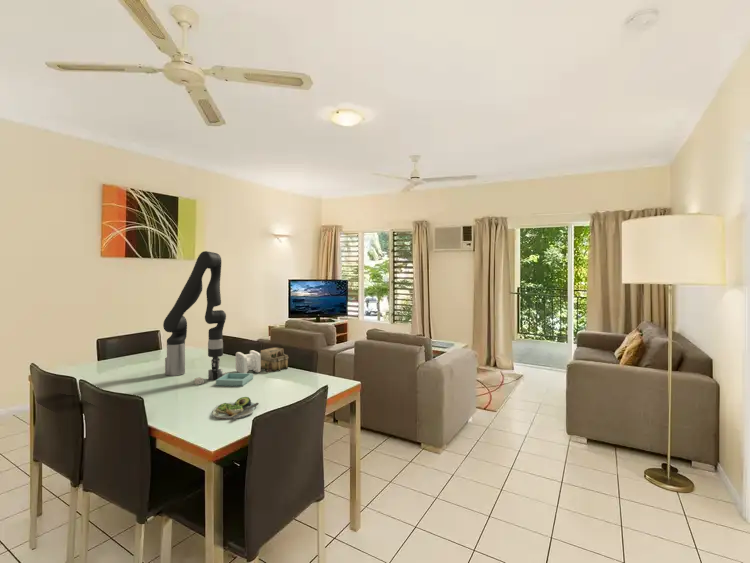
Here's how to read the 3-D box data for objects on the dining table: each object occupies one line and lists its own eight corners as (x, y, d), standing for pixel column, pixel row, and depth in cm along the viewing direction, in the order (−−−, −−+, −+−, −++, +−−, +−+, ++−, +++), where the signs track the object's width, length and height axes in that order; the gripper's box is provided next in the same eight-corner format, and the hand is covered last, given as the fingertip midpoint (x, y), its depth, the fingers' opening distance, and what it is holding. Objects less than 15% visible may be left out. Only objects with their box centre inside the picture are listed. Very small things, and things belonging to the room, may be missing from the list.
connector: (208, 380, 209) (208, 370, 209) (208, 378, 212) (208, 369, 212) (225, 379, 211) (225, 369, 211) (225, 377, 214) (225, 368, 214)
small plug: (194, 383, 203) (194, 378, 203) (199, 382, 205) (199, 377, 205) (199, 385, 200) (199, 380, 200) (204, 384, 202) (204, 379, 202)
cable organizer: (261, 374, 223) (261, 353, 222) (243, 376, 216) (243, 356, 216) (252, 368, 235) (252, 349, 234) (234, 371, 228) (234, 351, 228)
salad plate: (255, 421, 154) (255, 409, 153) (206, 424, 150) (206, 412, 150) (259, 404, 173) (259, 394, 172) (217, 407, 169) (217, 396, 169)
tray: (215, 385, 199) (215, 379, 199) (227, 378, 213) (227, 372, 213) (242, 386, 198) (242, 380, 198) (252, 378, 212) (252, 373, 212)
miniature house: (255, 369, 233) (255, 350, 232) (273, 365, 245) (273, 346, 244) (273, 373, 225) (273, 353, 224) (290, 368, 237) (290, 349, 236)
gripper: (221, 349, 205) (221, 381, 206) (224, 344, 219) (224, 375, 219) (206, 350, 203) (206, 382, 203) (209, 345, 217) (209, 375, 217)
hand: (215, 378), depth 211 cm, fingers closed on connector, 3 cm apart
